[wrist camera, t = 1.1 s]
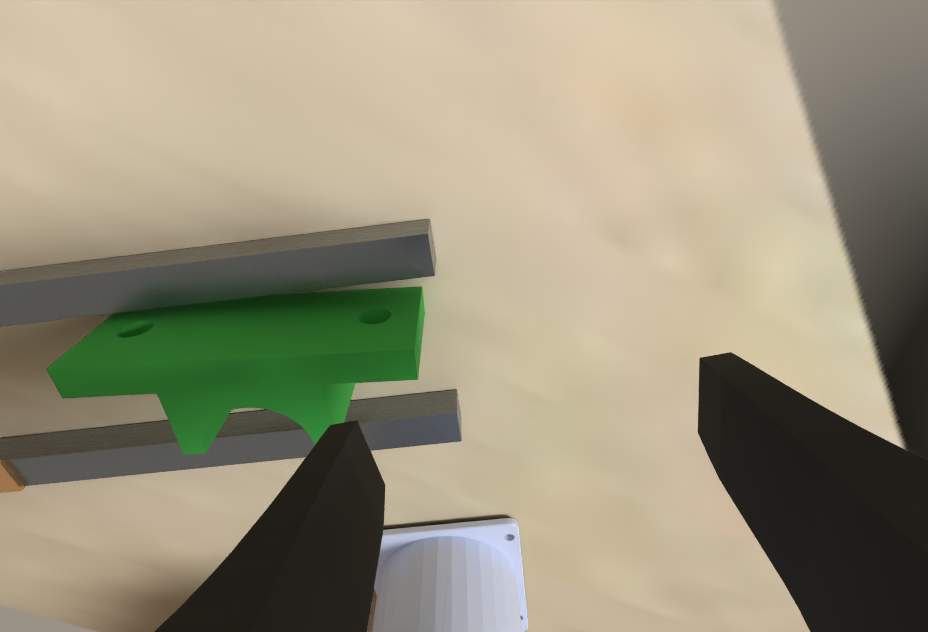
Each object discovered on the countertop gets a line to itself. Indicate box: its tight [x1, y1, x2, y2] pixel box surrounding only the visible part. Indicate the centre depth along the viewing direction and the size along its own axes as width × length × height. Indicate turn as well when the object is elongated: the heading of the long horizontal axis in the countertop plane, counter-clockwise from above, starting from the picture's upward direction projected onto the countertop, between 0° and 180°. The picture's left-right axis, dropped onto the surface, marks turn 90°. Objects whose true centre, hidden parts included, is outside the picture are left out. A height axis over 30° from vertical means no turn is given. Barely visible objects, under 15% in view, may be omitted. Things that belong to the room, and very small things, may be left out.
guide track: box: [0, 219, 462, 493], centre depth 19 cm, size 9×22×2 cm, turn 97°
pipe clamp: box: [47, 287, 425, 455], centre depth 18 cm, size 11×4×5 cm, turn 93°
